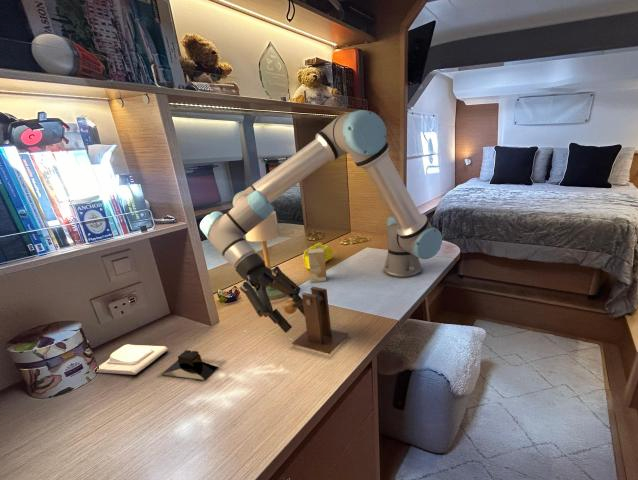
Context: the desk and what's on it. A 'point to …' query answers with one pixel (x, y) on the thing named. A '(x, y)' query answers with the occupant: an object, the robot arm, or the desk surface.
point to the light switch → (131, 359)
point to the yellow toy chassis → (318, 246)
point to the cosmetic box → (317, 265)
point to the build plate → (190, 367)
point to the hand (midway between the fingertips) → (299, 322)
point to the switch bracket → (318, 324)
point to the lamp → (264, 233)
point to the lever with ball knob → (297, 304)
